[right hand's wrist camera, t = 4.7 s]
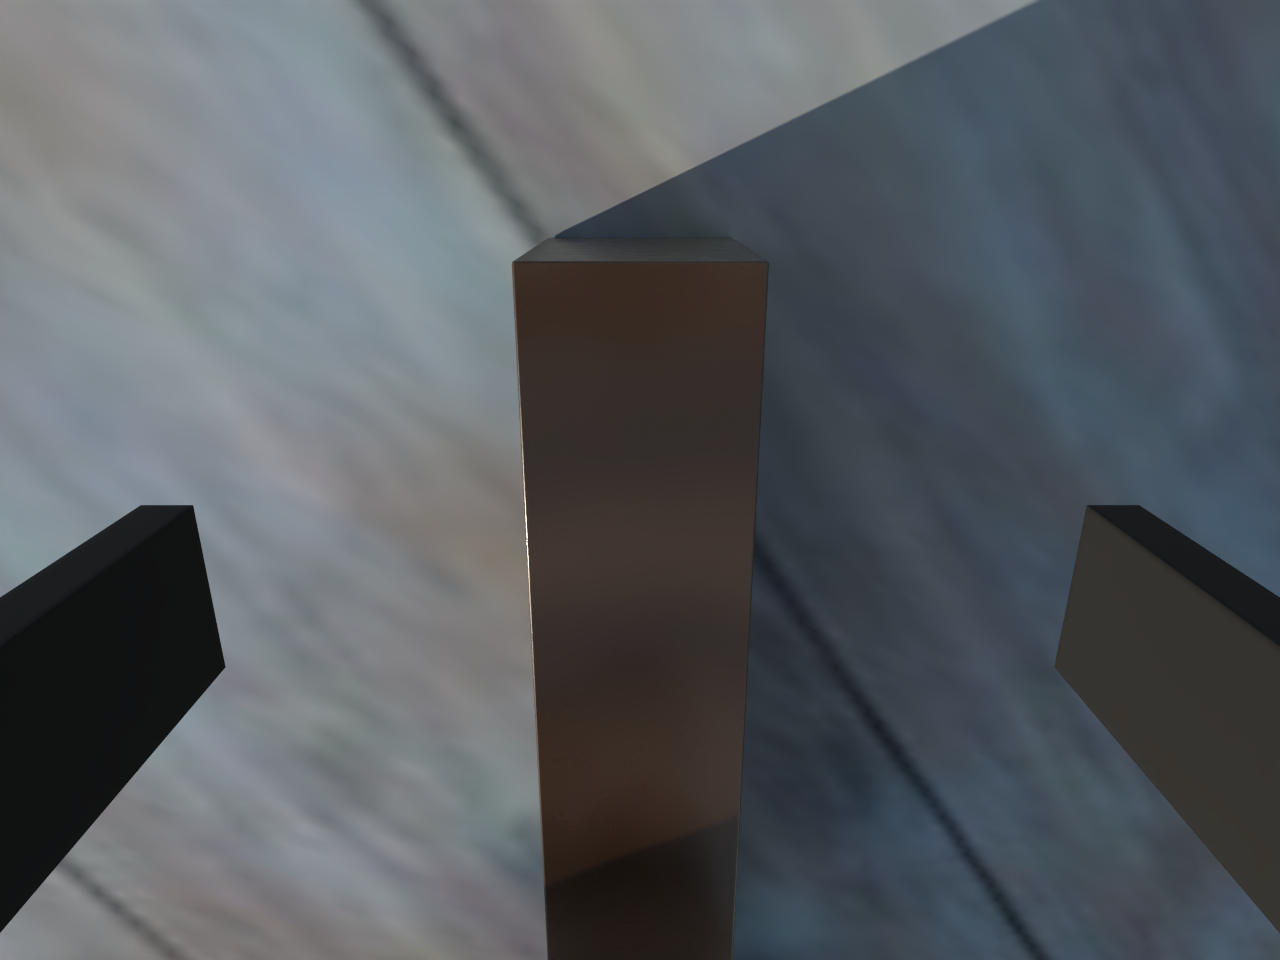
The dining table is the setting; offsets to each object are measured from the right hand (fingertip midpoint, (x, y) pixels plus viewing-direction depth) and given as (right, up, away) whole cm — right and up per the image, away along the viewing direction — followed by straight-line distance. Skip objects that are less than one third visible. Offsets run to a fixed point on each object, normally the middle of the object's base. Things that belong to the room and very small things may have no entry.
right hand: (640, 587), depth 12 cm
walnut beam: (0, -7, +21) cm, 22 cm away
